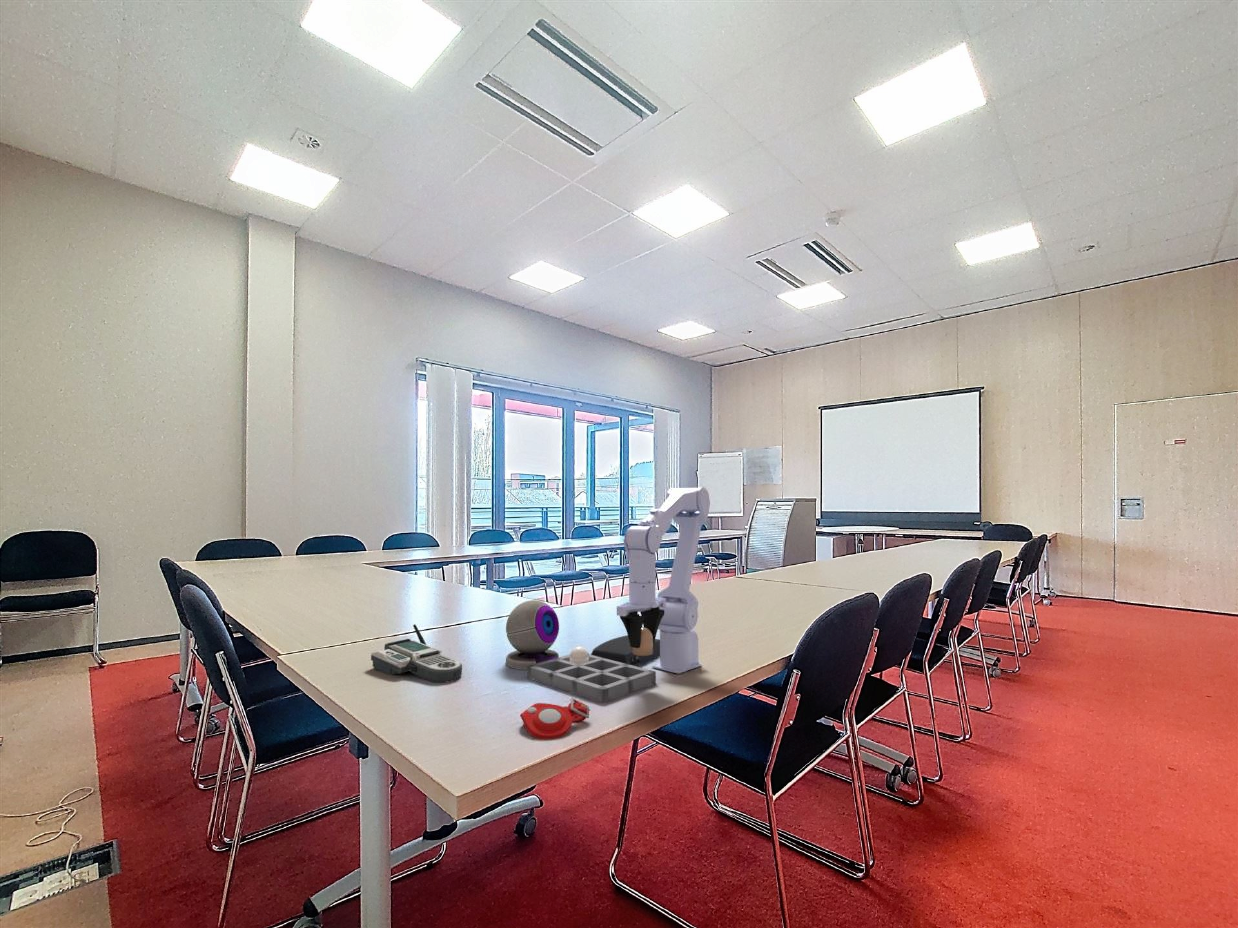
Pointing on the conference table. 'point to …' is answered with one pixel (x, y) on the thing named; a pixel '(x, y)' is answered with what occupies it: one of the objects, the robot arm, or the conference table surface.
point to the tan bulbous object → (644, 643)
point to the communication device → (416, 660)
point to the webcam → (531, 634)
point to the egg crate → (592, 677)
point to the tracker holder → (553, 718)
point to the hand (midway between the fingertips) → (642, 645)
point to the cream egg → (579, 655)
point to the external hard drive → (624, 651)
